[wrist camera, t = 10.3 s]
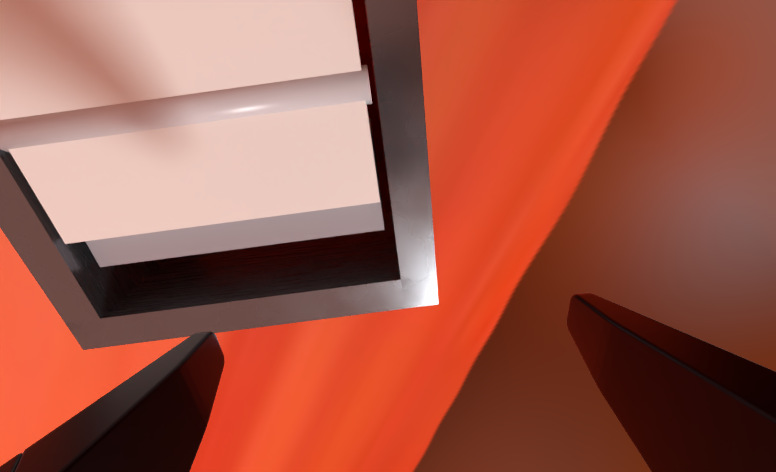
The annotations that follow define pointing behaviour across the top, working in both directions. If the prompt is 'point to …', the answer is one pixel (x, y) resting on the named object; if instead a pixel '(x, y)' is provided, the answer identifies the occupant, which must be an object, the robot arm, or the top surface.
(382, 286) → the trapdoor stand
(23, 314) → the top surface
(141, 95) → the trapdoor flap
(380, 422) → the top surface
